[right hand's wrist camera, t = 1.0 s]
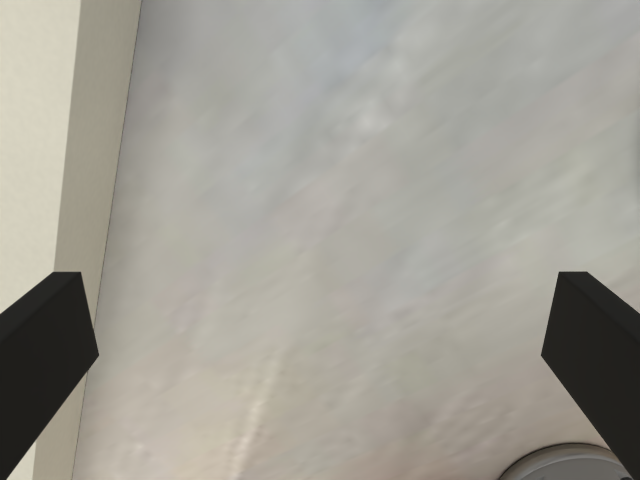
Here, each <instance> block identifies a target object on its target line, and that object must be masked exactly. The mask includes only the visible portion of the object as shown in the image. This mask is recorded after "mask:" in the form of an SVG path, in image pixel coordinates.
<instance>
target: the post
mask: <svg viewBox="0 0 640 480" xmlns="http://www.w3.org/2000/svg"><path fill="white" fill-rule="evenodd" d="M141 2H142V0H0V314H1V313H2V312H3V311H4V310H6V309H7V308H8V307H9V306H11V305H12V304H13V303H14V302H16V301H17V300H18V299H19V298H21V297H22V296H23V295H24V294H26V293H27V292H28V291H29V290H31V289H32V288H33V287H34V286H36V285H37V284H38V283H39V282H41V281H42V280H43V279H45V278H46V277H47V276H48V275H50V274H51V273H52V272H81V274H82V279H83V283H84V288H85V293H86V297H87V302H88V307H89V311H90V316H91V321H92V325H93V330H94V323H95V316H96V310H97V303H98V296H99V289H100V282H101V275H102V268H103V262H104V255H105V248H106V241H107V234H108V227H109V221H110V214H111V207H112V200H113V193H114V186H115V180H116V173H117V166H118V159H119V152H120V145H121V138H122V132H123V125H124V118H125V111H126V104H127V97H128V91H129V84H130V77H131V70H132V63H133V56H134V50H135V43H136V36H137V29H138V22H139V15H140V8H141ZM86 378H87V372H86V374H85V375H84V376H83V378H82V379H81V380H80V382H79V383H78V384H77V386H76V387H75V388H74V390H73V391H72V392H71V394H70V395H69V396H68V398H67V399H66V401H65V402H64V403H63V405H62V406H61V407H60V409H59V410H58V411H57V413H56V414H55V415H54V417H53V418H52V419H51V421H50V422H49V423H48V425H47V426H46V427H45V429H44V430H43V431H42V433H41V434H40V435H39V437H38V438H37V439H36V441H35V442H34V443H33V445H32V446H31V447H30V449H29V450H28V451H27V453H26V454H25V456H24V457H23V458H22V460H21V461H20V462H19V464H18V465H17V466H16V468H15V469H14V470H13V472H12V473H11V474H10V476H9V477H8V478H7V480H72V474H73V467H74V460H75V453H76V446H77V440H78V433H79V426H80V419H81V412H82V405H83V398H84V392H85V385H86Z"/></svg>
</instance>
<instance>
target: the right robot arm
mask: <svg viewBox="0 0 640 480" xmlns="http://www.w3.org/2000/svg"><path fill="white" fill-rule="evenodd" d="M98 356H99V353H98V348H97V344H96V339H95V334H94V330H93V325H92V321H91V316H90V311H89V307H88V302H87V297H86V293H85V288H84V283H83V279H82V274H81V272H52V273H51V274H50V275H48V276H47V277H46V278H45V279H43V280H42V281H41V282H39V283H38V284H37V285H36V286H34V287H33V288H32V289H31V290H29V291H28V292H27V293H26V294H24V295H23V296H22V297H21V298H19V299H18V300H17V301H16V302H14V303H13V304H12V305H11V306H9V307H8V308H7V309H6V310H4V311H3V312H2V313H1V314H0V480H7V478H8V477H9V476H10V474H11V473H12V472H13V470H14V469H15V468H16V466H17V465H18V464H19V462H20V461H21V460H22V458H23V457H24V456H25V454H26V453H27V451H28V450H29V449H30V447H31V446H32V445H33V443H34V442H35V441H36V439H37V438H38V437H39V435H40V434H41V433H42V431H43V430H44V429H45V427H46V426H47V425H48V423H49V422H50V421H51V419H52V418H53V417H54V415H55V414H56V413H57V411H58V410H59V409H60V407H61V406H62V405H63V403H64V402H65V401H66V399H67V398H68V396H69V395H70V394H71V392H72V391H73V390H74V388H75V387H76V386H77V384H78V383H79V382H80V380H81V379H82V378H83V376H84V375H85V374H86V372H87V371H88V370H89V368H90V367H91V366H92V364H93V363H94V362H95V360H96V359H97V358H98ZM541 356H542V358H543V359H544V360H545V362H546V363H547V364H548V366H549V367H550V368H551V370H552V371H553V372H554V374H555V375H556V376H557V378H558V379H559V380H560V382H561V383H562V384H563V386H564V387H565V388H566V390H567V391H568V392H569V394H570V395H571V396H572V398H573V399H574V401H575V402H576V403H577V405H578V406H579V407H580V409H581V410H582V411H583V413H584V414H585V415H586V417H587V418H588V419H589V421H590V422H591V423H592V425H593V426H594V427H595V429H596V430H597V431H598V433H599V434H600V435H601V437H602V438H603V439H604V441H605V442H606V443H607V445H608V446H609V447H610V449H611V450H612V451H613V452H611V451H609V450H607V449H604V448H601V447H597V446H593V445H586V444H566V445H558V446H553V447H549V448H546V449H543V450H540V451H537V452H535V453H532V454H530V455H528V456H526V457H525V458H523V459H521V460H520V461H518V462H517V463H515V464H514V465H513V466H512V467H510V468H509V469H508V470H507V471H506V472H505V473H504V474H503V475H502V477H501V478H500V479H499V480H640V314H639V313H638V312H637V311H636V310H634V309H633V308H632V307H631V306H629V305H628V304H627V303H626V302H624V301H623V300H622V299H621V298H619V297H618V296H617V295H616V294H614V293H613V292H612V291H611V290H609V289H608V288H607V287H606V286H604V285H603V284H602V283H601V282H599V281H598V280H597V279H595V278H594V277H593V276H592V275H590V274H589V273H588V272H559V274H558V279H557V283H556V288H555V293H554V297H553V302H552V307H551V311H550V316H549V320H548V325H547V330H546V334H545V339H544V344H543V348H542V353H541Z"/></svg>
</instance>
